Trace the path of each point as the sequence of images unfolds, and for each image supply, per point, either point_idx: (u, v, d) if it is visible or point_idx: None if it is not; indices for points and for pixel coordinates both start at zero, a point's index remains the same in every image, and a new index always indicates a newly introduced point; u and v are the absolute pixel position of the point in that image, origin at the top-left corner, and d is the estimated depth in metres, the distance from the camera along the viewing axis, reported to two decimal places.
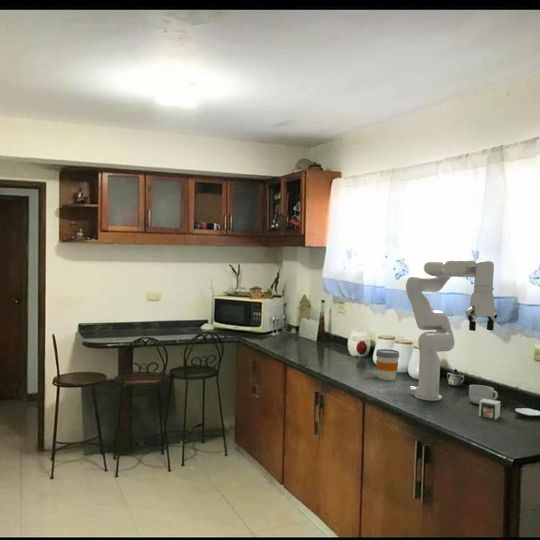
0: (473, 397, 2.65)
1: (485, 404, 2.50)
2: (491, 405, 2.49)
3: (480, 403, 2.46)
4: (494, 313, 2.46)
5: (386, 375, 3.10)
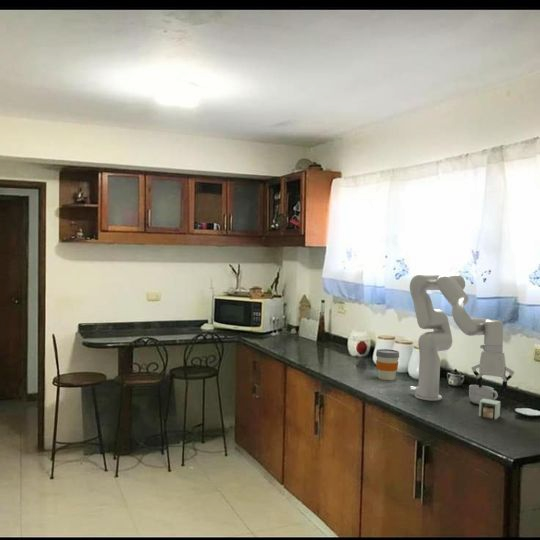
0: (473, 397, 2.65)
1: (485, 404, 2.50)
2: (491, 405, 2.49)
3: (480, 403, 2.46)
4: (475, 370, 2.50)
5: (386, 375, 3.10)
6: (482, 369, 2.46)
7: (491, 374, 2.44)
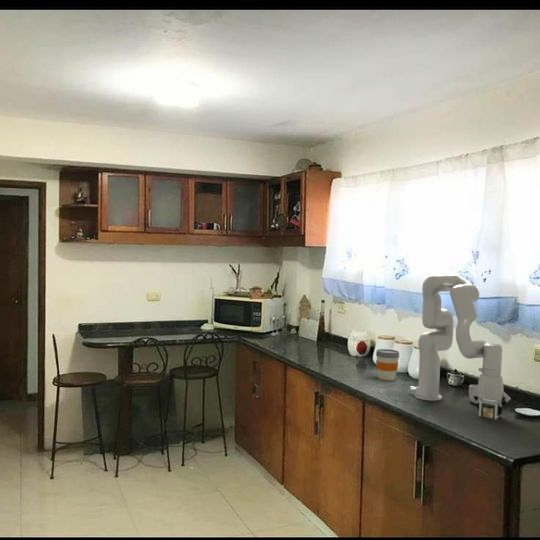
0: (473, 397, 2.65)
1: (485, 404, 2.50)
2: (491, 405, 2.49)
3: (480, 403, 2.46)
4: (475, 394, 2.50)
5: (386, 375, 3.10)
6: (480, 392, 2.46)
7: (489, 398, 2.44)
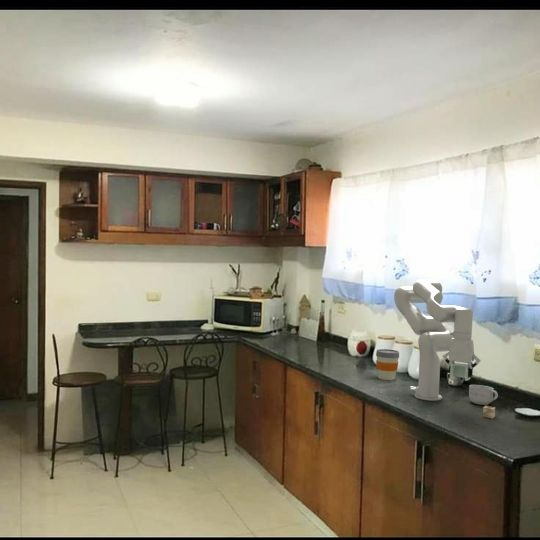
0: (473, 397, 2.65)
1: (456, 367, 2.57)
2: (462, 368, 2.56)
3: (451, 365, 2.53)
4: None
5: (386, 375, 3.10)
6: (451, 355, 2.53)
7: (460, 360, 2.51)
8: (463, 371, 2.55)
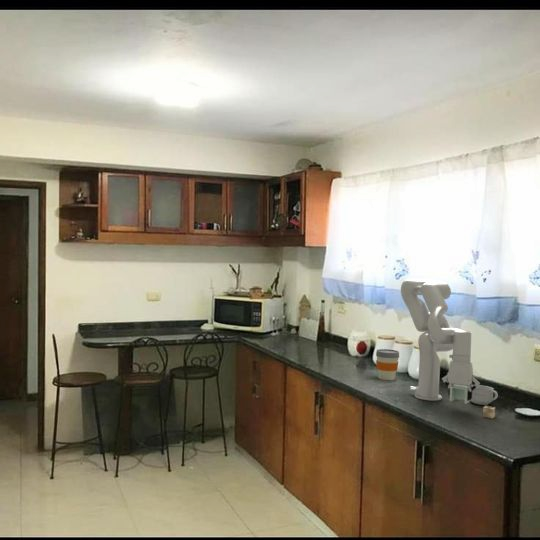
0: (473, 397, 2.65)
1: (456, 390, 2.57)
2: (462, 390, 2.55)
3: (451, 388, 2.53)
4: (446, 380, 2.57)
5: (386, 375, 3.10)
6: (450, 378, 2.53)
7: (459, 383, 2.51)
8: (462, 394, 2.55)
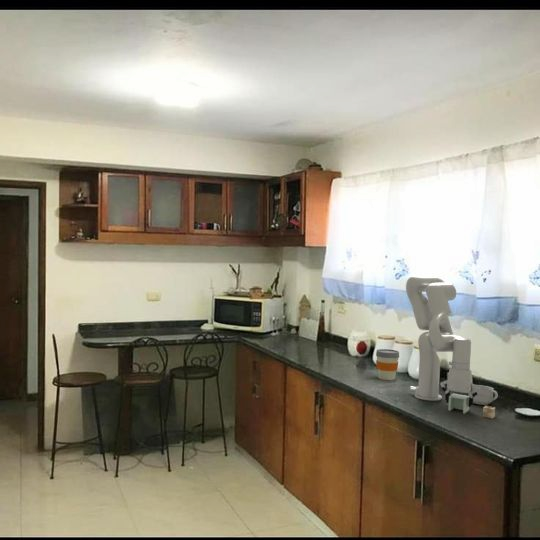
0: (473, 397, 2.65)
1: (455, 399, 2.57)
2: (460, 400, 2.56)
3: (449, 398, 2.53)
4: None
5: (386, 375, 3.10)
6: (450, 385, 2.54)
7: (458, 390, 2.52)
8: (461, 403, 2.56)
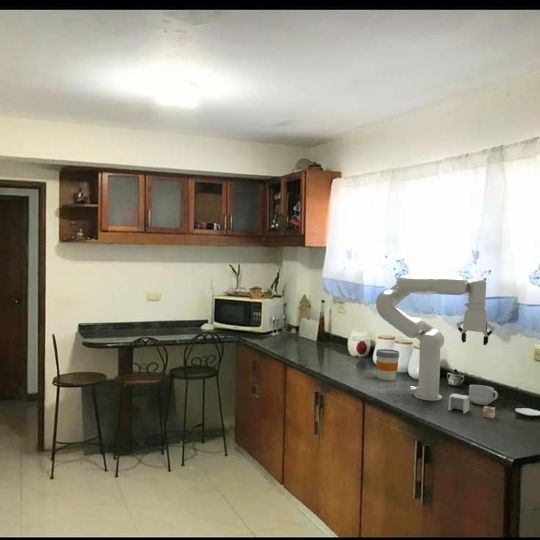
0: (473, 397, 2.65)
1: (455, 399, 2.57)
2: (461, 400, 2.56)
3: (449, 398, 2.53)
4: (460, 326, 2.69)
5: (386, 375, 3.10)
6: (465, 325, 2.65)
7: (473, 329, 2.63)
8: (461, 403, 2.56)
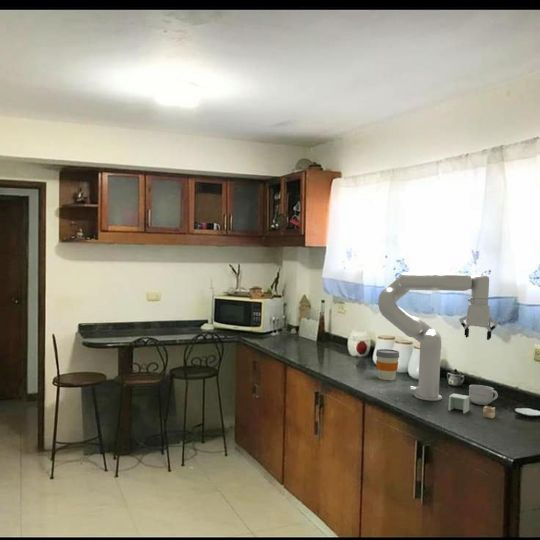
0: (473, 397, 2.65)
1: (455, 399, 2.57)
2: (461, 400, 2.56)
3: (449, 398, 2.53)
4: (463, 321, 2.72)
5: (386, 375, 3.10)
6: (469, 320, 2.67)
7: (477, 324, 2.65)
8: (461, 403, 2.56)
